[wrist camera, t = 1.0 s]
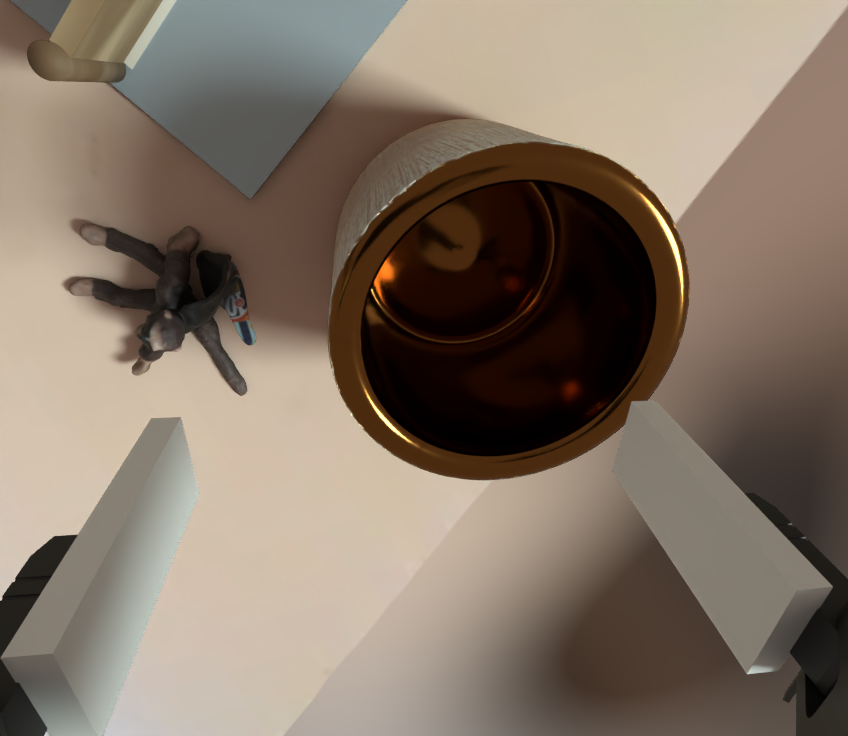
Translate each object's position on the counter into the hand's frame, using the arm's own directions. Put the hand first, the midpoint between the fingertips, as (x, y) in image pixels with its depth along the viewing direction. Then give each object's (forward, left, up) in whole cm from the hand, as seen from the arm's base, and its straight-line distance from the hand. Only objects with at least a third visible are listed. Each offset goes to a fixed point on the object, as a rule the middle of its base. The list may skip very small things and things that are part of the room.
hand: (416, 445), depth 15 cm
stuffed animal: (-7, -14, -25) cm, 30 cm away
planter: (+5, +3, -25) cm, 25 cm away
